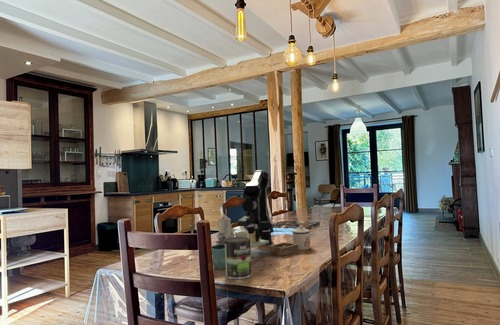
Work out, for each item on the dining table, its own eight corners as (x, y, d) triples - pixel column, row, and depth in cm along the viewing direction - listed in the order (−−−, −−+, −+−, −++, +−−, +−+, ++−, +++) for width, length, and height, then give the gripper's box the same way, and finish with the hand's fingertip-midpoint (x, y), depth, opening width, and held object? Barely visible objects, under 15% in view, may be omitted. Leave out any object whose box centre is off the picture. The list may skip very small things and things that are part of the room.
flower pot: (206, 268, 144) (205, 247, 144) (222, 263, 150) (221, 243, 151) (219, 271, 138) (218, 249, 138) (235, 266, 144) (234, 245, 144)
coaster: (238, 254, 166) (238, 253, 166) (255, 250, 174) (255, 248, 174) (255, 258, 157) (255, 256, 157) (272, 253, 166) (272, 251, 166)
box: (269, 254, 163) (269, 246, 164) (284, 250, 171) (283, 242, 171) (283, 256, 157) (283, 248, 157) (298, 252, 165) (297, 244, 165)
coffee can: (256, 276, 129) (254, 239, 130) (232, 281, 124) (230, 243, 125) (244, 270, 138) (243, 235, 139) (221, 274, 133) (220, 239, 134)
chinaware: (253, 244, 198) (254, 215, 200) (229, 245, 189) (230, 215, 190) (229, 238, 221) (230, 212, 223) (206, 239, 212) (208, 212, 213)
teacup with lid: (308, 250, 167) (306, 227, 168) (290, 249, 171) (289, 226, 171) (314, 245, 178) (313, 223, 178) (297, 244, 182) (296, 223, 182)
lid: (240, 246, 165) (240, 234, 166) (256, 242, 173) (255, 231, 173) (253, 248, 159) (252, 236, 159) (269, 244, 166) (268, 232, 167)
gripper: (228, 210, 168) (230, 241, 167) (255, 212, 154) (256, 246, 154) (245, 208, 175) (246, 238, 175) (271, 209, 162) (272, 242, 161)
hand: (254, 241), depth 166 cm, fingers closed on lid, 3 cm apart
